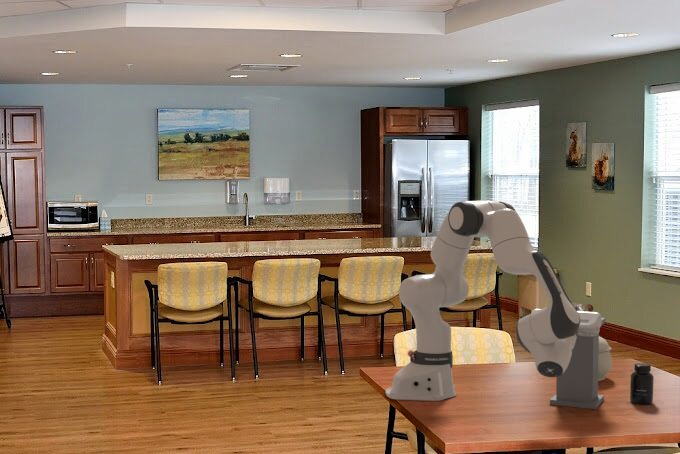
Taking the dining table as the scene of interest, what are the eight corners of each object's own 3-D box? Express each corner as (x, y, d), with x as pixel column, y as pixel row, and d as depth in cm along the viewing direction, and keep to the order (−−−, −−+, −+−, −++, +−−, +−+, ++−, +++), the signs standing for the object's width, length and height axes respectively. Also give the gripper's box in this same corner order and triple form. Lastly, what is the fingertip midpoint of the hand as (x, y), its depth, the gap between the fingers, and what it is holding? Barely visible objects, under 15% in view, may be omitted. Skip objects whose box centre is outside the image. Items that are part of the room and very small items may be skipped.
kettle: (605, 386, 328) (606, 312, 327) (550, 381, 336) (551, 309, 335) (618, 372, 351) (620, 303, 349) (567, 368, 359) (568, 300, 357)
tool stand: (596, 409, 297) (597, 323, 296) (549, 404, 303) (551, 320, 302) (603, 400, 309) (605, 317, 307) (559, 395, 315) (560, 315, 313)
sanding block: (574, 312, 288) (574, 302, 289) (560, 311, 290) (561, 301, 290) (587, 318, 307) (587, 308, 307) (574, 317, 309) (575, 307, 309)
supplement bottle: (637, 405, 302) (638, 367, 301) (625, 400, 308) (626, 362, 308) (657, 404, 304) (658, 365, 303) (645, 399, 310) (645, 361, 309)
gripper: (597, 328, 276) (605, 298, 287) (525, 323, 285) (535, 294, 295) (598, 345, 279) (606, 315, 290) (527, 340, 288) (537, 311, 298)
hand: (570, 305), depth 293 cm, fingers closed on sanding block, 4 cm apart
